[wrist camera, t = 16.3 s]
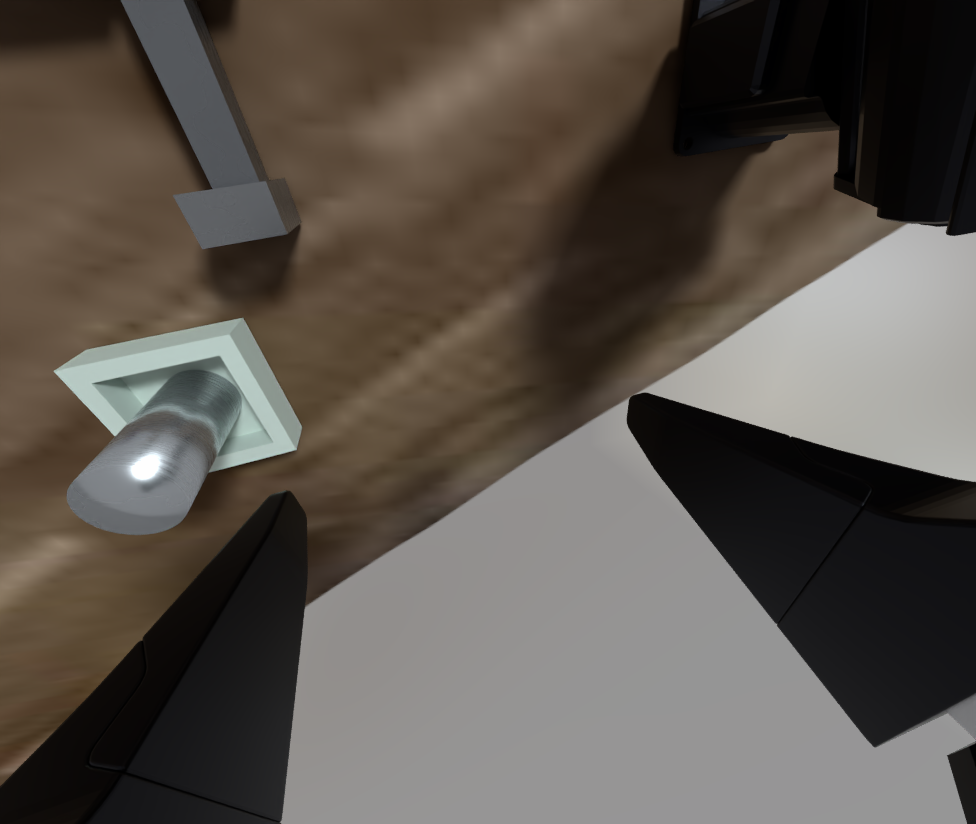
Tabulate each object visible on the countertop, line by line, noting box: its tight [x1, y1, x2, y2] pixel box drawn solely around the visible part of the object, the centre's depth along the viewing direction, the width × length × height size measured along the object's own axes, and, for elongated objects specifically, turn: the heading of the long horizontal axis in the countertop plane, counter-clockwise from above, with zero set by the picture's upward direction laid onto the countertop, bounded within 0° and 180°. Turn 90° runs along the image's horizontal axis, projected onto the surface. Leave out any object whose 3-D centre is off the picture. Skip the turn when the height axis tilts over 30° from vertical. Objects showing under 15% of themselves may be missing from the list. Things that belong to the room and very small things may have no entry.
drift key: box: [121, 0, 301, 249], centre depth 11 cm, size 3×12×3 cm, turn 7°
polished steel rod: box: [67, 370, 242, 535], centre depth 15 cm, size 3×3×7 cm
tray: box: [54, 318, 302, 473], centre depth 18 cm, size 7×7×2 cm
